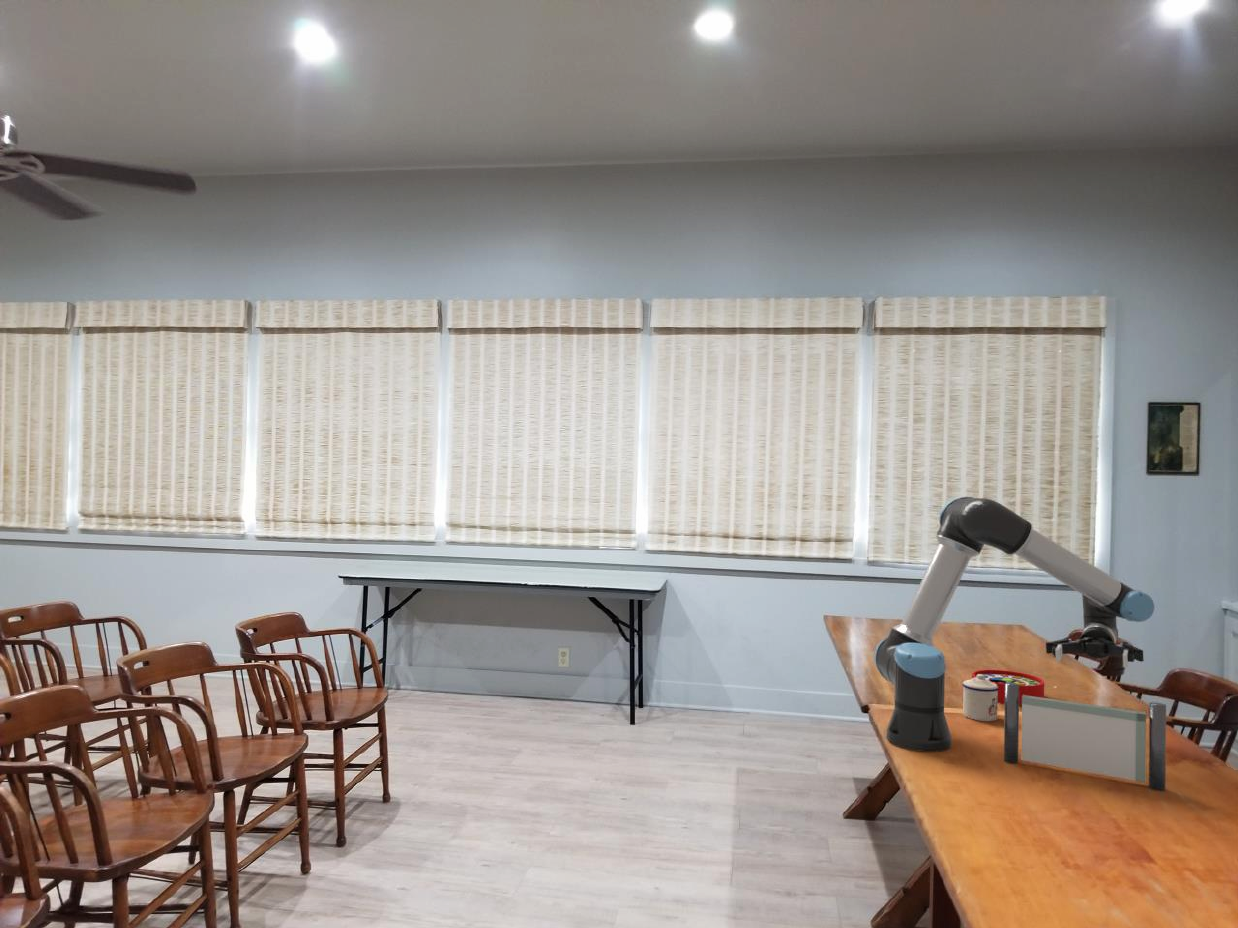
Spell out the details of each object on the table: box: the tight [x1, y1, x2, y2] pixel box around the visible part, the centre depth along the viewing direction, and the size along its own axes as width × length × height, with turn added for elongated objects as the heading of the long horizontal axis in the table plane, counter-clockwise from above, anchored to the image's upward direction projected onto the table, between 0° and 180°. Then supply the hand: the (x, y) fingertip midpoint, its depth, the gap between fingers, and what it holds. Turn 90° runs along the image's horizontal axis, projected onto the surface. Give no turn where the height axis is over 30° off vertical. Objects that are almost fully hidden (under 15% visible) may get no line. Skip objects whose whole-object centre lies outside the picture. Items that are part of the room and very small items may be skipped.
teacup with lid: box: [962, 674, 999, 722], centre depth 223 cm, size 12×9×12 cm
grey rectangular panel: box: [1020, 695, 1147, 784], centre depth 179 cm, size 24×2×15 cm, turn 59°
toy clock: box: [971, 669, 1045, 706], centre depth 245 cm, size 20×6×20 cm
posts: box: [1003, 682, 1167, 792], centre depth 179 cm, size 31×3×18 cm, turn 59°
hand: (1090, 658), depth 186 cm, fingers open, 13 cm apart
